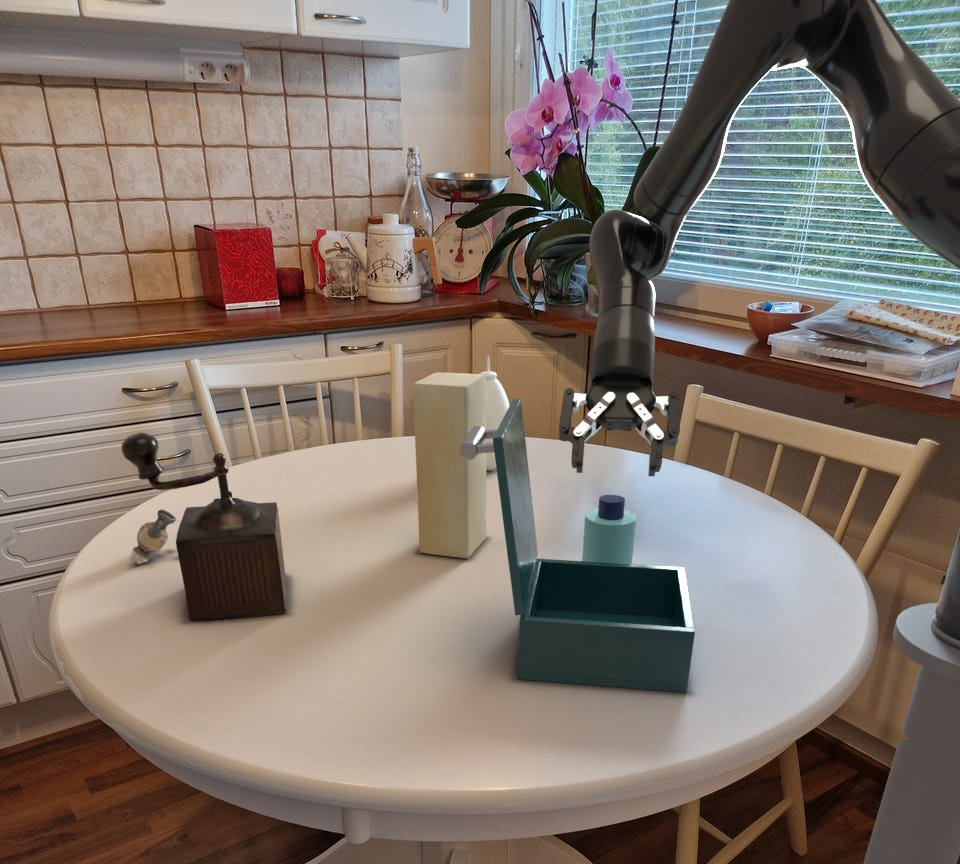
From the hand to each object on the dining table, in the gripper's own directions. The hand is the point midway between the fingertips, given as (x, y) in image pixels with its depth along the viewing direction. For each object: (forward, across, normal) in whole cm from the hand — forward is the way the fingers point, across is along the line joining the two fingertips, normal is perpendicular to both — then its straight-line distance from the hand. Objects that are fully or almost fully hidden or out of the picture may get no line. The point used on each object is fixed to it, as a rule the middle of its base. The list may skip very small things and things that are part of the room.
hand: (615, 471), depth 100 cm
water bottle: (+15, 0, +1) cm, 15 cm away
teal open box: (+25, 0, -9) cm, 26 cm away
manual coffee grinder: (+21, -43, -5) cm, 48 cm away
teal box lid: (+14, -9, -19) cm, 25 cm away
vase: (+14, -55, +2) cm, 57 cm away
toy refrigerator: (+7, -20, +9) cm, 23 cm away
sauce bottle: (-17, -20, +33) cm, 42 cm away
